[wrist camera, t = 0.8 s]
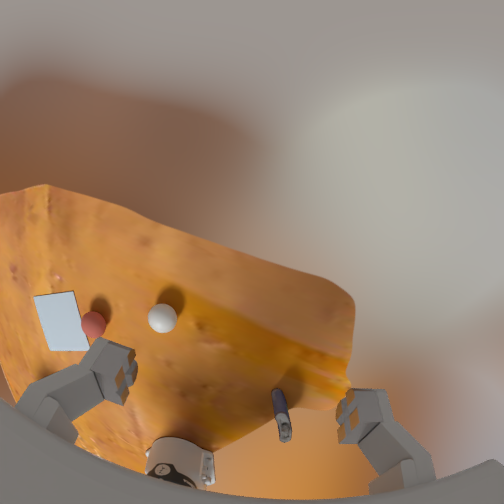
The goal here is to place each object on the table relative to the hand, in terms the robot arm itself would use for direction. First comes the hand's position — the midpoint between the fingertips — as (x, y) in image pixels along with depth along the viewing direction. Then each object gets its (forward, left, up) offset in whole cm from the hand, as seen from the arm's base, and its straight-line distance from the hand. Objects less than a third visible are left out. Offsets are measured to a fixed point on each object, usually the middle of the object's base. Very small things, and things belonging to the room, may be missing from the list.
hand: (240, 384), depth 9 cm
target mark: (-9, +45, -42) cm, 62 cm away
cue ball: (-9, +17, -39) cm, 43 cm away
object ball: (-9, +33, -39) cm, 52 cm away
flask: (-34, -2, -42) cm, 54 cm away
